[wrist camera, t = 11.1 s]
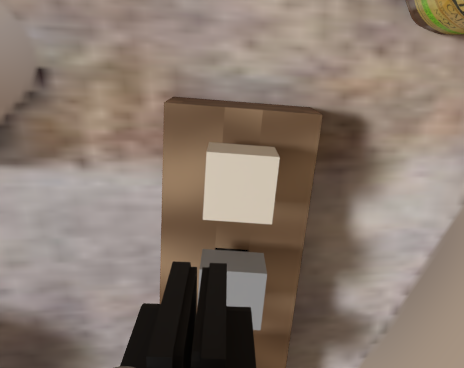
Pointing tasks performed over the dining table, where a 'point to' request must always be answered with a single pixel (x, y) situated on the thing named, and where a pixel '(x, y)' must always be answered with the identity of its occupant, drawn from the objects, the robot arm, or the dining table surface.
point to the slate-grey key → (241, 278)
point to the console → (238, 233)
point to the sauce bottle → (438, 15)
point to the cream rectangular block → (240, 183)
